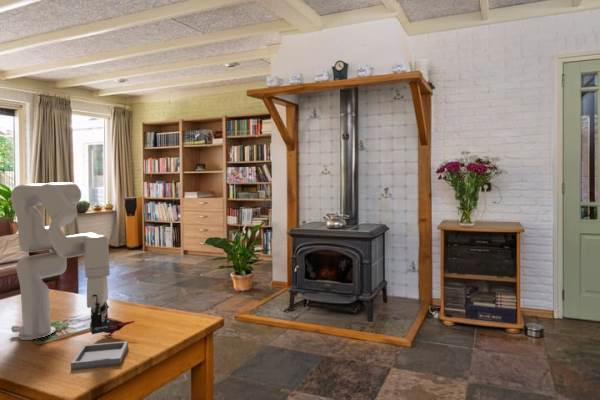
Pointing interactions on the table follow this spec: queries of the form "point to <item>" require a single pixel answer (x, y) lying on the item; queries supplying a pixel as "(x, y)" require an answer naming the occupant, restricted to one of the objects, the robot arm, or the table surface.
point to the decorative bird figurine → (115, 326)
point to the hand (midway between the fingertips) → (99, 321)
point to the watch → (105, 322)
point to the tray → (100, 355)
